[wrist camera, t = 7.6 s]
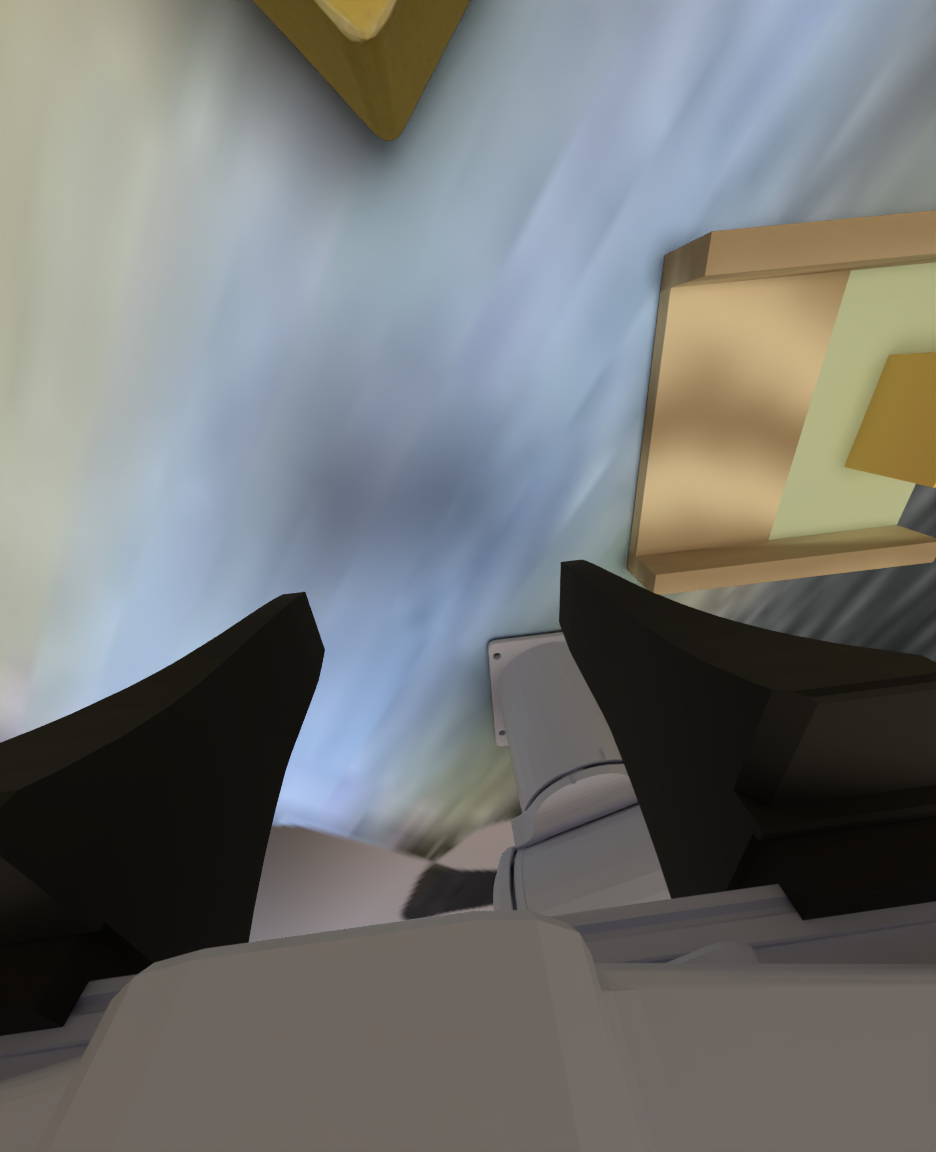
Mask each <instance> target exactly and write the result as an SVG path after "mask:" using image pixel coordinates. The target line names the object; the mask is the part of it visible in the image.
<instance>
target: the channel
mask: <svg viewBox="0 0 936 1152" xmlns="http://www.w3.org/2000/svg"><path fill="white" fill-rule="evenodd" d="M933 262H936V210H934V211H924V212H913V213H902V214H892V215H881V216H870V217H860V218H849V219H839V220H828V221H817V222H807V223H796V224H786V225H775V226H764V227H754V228H743V229H732V230H722V231H712V232H710V233H708V234H706V235H704V236H702V237H700V238H698V239H696V240H694V241H692V242H690V243H688V244H686V245H684V246H682V247H680V248H678V249H676V250H674V251H672V252H670V253H668V254H666V255H665V259H664V267H663V275H662V283H661V292H660V300H659V308H658V317H657V325H656V333H655V341H654V350H653V358H652V366H651V375H650V383H649V391H648V399H647V408H646V416H645V424H644V432H643V441H642V449H641V457H640V466H639V474H638V482H637V490H636V499H635V507H634V515H633V524H632V532H631V540H630V548H629V557H628V565H627V570H628V571H629V572H630V573H631V574H632V575H633V576H634V577H635V578H636V579H637V580H638V581H639V582H640V583H641V584H642V585H643V586H644V587H645V588H646V589H647V590H649V591H651V592H653V593H656V594H658V595H661V594H669V593H677V592H686V591H694V590H703V589H711V588H719V587H728V586H736V585H744V584H753V583H761V582H770V581H778V580H786V579H795V578H803V577H811V576H820V575H828V574H837V573H845V572H853V571H862V570H870V569H878V568H887V567H895V566H904V565H912V564H920V563H929V562H933V561H934V559H935V557H936V538H934V537H931V536H928V535H925V534H922V533H919V532H916V531H913V530H910V529H907V528H904V527H901V526H897V525H893V526H885V527H876V528H868V529H859V530H850V531H842V532H833V533H825V534H816V535H807V536H799V537H790V538H782V539H773V540H769V537H770V534H771V530H772V527H773V524H774V521H775V517H776V514H777V511H778V507H779V504H780V501H781V498H782V494H783V491H784V488H785V485H786V481H787V478H788V475H789V471H790V468H791V465H792V462H793V458H794V455H795V452H796V449H797V445H798V442H799V439H800V436H801V432H802V429H803V426H804V422H805V419H806V416H807V413H808V409H809V406H810V403H811V400H812V396H813V393H814V390H815V387H816V383H817V380H818V377H819V373H820V370H821V367H822V364H823V360H824V357H825V354H826V351H827V347H828V344H829V341H830V337H831V334H832V331H833V328H834V324H835V321H836V318H837V315H838V311H839V308H840V305H841V302H842V298H843V295H844V292H845V288H846V285H847V282H848V279H849V275H850V272H851V270H861V269H871V268H882V267H892V266H902V265H912V264H923V263H933Z"/></svg>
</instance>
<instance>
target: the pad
mask: <svg viewBox="0 0 936 1152" xmlns="http://www.w3.org/2000/svg"><path fill="white" fill-rule="evenodd" d="M926 352H936V262H933V263H923V264H912V265H902V266H892V267H882V268H871V269H861V270H851V272H850V275H849V279H848V282H847V285H846V288H845V292H844V295H843V298H842V302H841V305H840V308H839V311H838V315H837V318H836V321H835V324H834V328H833V331H832V334H831V337H830V341H829V344H828V347H827V351H826V354H825V357H824V360H823V364H822V367H821V370H820V373H819V377H818V380H817V383H816V387H815V390H814V393H813V396H812V400H811V403H810V406H809V409H808V413H807V416H806V419H805V422H804V426H803V429H802V432H801V436H800V439H799V442H798V445H797V449H796V452H795V455H794V458H793V462H792V465H791V468H790V471H789V475H788V478H787V481H786V485H785V488H784V491H783V494H782V498H781V501H780V504H779V507H778V511H777V514H776V517H775V521H774V524H773V527H772V530H771V534H770V537H769V540H773V539H782V538H790V537H799V536H807V535H816V534H825V533H833V532H842V531H850V530H859V529H868V528H876V527H885V526H893V525H897V523H898V521H899V519H900V516H901V514H902V512H903V510H904V508H905V506H906V504H907V501H908V499H909V497H910V495H911V493H912V491H913V489H914V487H915V483H911V482H907V481H902V480H898V479H894V478H889V477H885V476H881V475H876V474H872V473H868V472H864V471H859V470H855V469H851V468H846V467H844V466H845V464H846V461H847V459H848V456H849V454H850V451H851V449H852V446H853V444H854V441H855V439H856V436H857V434H858V431H859V429H860V426H861V424H862V421H863V419H864V416H865V414H866V411H867V409H868V406H869V404H870V401H871V399H872V396H873V394H874V391H875V389H876V386H877V384H878V381H879V379H880V376H881V374H882V371H883V369H884V366H885V364H886V361H887V359H888V356H889V355H896V354H911V353H926Z"/></svg>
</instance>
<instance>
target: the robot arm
mask: <svg viewBox="0 0 936 1152" xmlns="http://www.w3.org/2000/svg"><path fill="white" fill-rule="evenodd" d="M559 623H560V625H561V628H562V631H563V632H558V633H550V634H541V635H533V636H525V637H517V638H508V639H500V640H494V641H491V642H490V643H489V645H488V655H489V667H490V680H491V692H492V704H493V716H494V728H495V740H496V744H497V745H498V746H509V750H510V755H511V760H512V765H513V770H514V775H515V780H516V785H517V790H518V795H519V800H520V805H521V810H522V814H521V815H520V816H518V817H516V818H514V819H512V820H511V824H512V829H513V835H514V842H515V846H513V847H510V848H507V849H506V850H505V851H504V852H503V853H502V856H501V858H500V861H499V865H498V870H497V875H496V878H495V884H494V911H470V912H464V913H456V914H449V915H442V916H435V917H427V918H420V919H413V920H406V921H399V922H392V923H385V924H377V925H370V926H364V927H356V928H349V929H342V930H335V931H327V932H320V933H313V934H306V935H300V936H292V937H285V938H278V939H270V940H263V941H256V942H249V936H250V930H251V924H252V918H253V912H254V907H255V902H256V897H257V892H258V887H259V881H260V877H261V872H262V867H263V862H264V856H265V852H266V848H267V844H268V839H269V835H270V830H271V826H272V822H273V818H274V813H275V809H276V805H277V802H278V798H279V794H280V790H281V786H282V782H283V779H284V775H285V771H286V768H287V765H288V762H289V759H290V756H291V753H292V750H293V748H294V745H295V742H296V740H297V737H298V735H299V732H300V729H301V727H302V724H303V721H304V719H305V716H306V713H307V711H308V708H309V706H310V703H311V700H312V697H313V695H314V692H315V689H316V686H317V684H318V681H319V676H320V672H321V667H322V662H323V657H324V652H325V649H324V646H323V643H322V640H321V637H320V634H319V631H318V628H317V625H316V622H315V619H314V616H313V614H312V611H311V608H310V605H309V602H308V599H307V596H306V593H305V592H300V593H291V594H283V595H281V596H279V597H277V598H275V599H273V600H272V601H270V602H268V603H267V604H265V605H264V606H262V607H261V608H259V609H257V610H256V611H254V612H253V613H251V614H250V615H248V616H247V617H245V618H244V619H242V620H241V621H239V622H238V623H236V624H235V625H233V626H232V627H230V628H229V629H227V630H226V631H224V632H223V633H221V634H220V635H218V636H217V637H215V638H214V639H212V640H210V641H209V642H207V643H205V644H204V645H202V646H201V647H199V648H197V649H196V650H194V651H193V652H191V653H189V654H188V655H186V656H185V657H183V658H181V659H180V660H178V661H176V662H174V663H173V664H171V665H169V666H167V667H166V668H164V669H162V670H160V671H158V672H157V673H155V674H153V675H151V676H149V677H147V678H145V679H143V680H141V681H140V682H138V683H136V684H134V685H132V686H130V687H128V688H126V689H124V690H122V691H120V692H117V693H115V694H113V695H111V696H109V697H107V698H104V699H102V700H100V701H98V702H96V703H94V704H92V705H89V706H87V707H85V708H83V709H81V710H79V711H77V712H74V713H72V714H70V715H68V716H65V717H63V718H61V719H58V720H56V721H53V722H51V723H49V724H46V725H44V726H41V727H39V728H37V729H34V730H32V731H29V732H27V733H24V734H22V735H19V736H16V737H14V738H11V739H9V740H6V741H4V742H1V743H0V1152H936V662H934V661H932V660H930V659H928V658H926V657H924V656H921V655H915V654H908V653H901V652H894V651H886V650H879V649H872V648H865V647H858V646H850V645H843V644H837V643H831V642H826V641H821V640H815V639H810V638H805V637H799V636H794V635H790V634H785V633H780V632H776V631H771V630H767V629H763V628H759V627H755V626H751V625H748V624H744V623H740V622H736V621H732V620H729V619H725V618H722V617H719V616H715V615H712V614H709V613H706V612H703V611H700V610H697V609H694V608H691V607H688V606H686V605H683V604H680V603H678V602H675V601H673V600H670V599H668V598H665V597H663V596H660V595H658V594H656V593H653V592H651V591H649V590H647V589H644V588H642V587H640V586H638V585H636V584H634V583H631V582H629V581H627V580H625V579H623V578H621V577H619V576H617V575H615V574H613V573H611V572H609V571H607V570H605V569H603V568H601V567H599V566H597V565H594V564H592V563H590V562H588V561H585V560H575V561H566V562H561V577H560V613H559ZM495 653H500V654H499V655H494V654H495ZM501 730H503V731H501ZM248 942H249V943H248Z"/></svg>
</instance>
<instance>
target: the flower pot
mask: <svg viewBox="0 0 936 1152" xmlns="http://www.w3.org/2000/svg"><path fill="white" fill-rule="evenodd" d="M253 1H254V2H255V3H256V4H257V6H258V7H259V8H260V9H261V10H262V11H263V12H264V13H265V14H266V15H267V16H268V17H269V18H270V19H271V21H272V22H273V23H274V24H275V25H276V26H277V27H278V28H279V29H280V30H281V31H282V32H283V33H284V34H285V36H286V37H287V38H288V39H289V40H290V41H291V42H292V43H293V44H294V45H295V46H296V47H297V49H298V50H299V51H300V52H301V53H302V54H303V55H304V56H305V57H306V58H307V60H308V61H309V62H310V63H311V64H312V65H313V66H314V67H315V68H316V69H317V71H318V72H319V73H320V74H321V75H322V76H323V77H324V78H325V79H326V80H327V82H328V83H329V84H330V85H331V86H332V87H333V88H334V89H335V90H336V92H337V93H338V94H339V95H340V96H341V97H342V98H343V99H344V100H345V102H346V103H347V104H348V105H349V106H350V107H351V108H352V109H353V110H354V112H355V113H356V114H357V115H358V116H359V117H360V118H361V119H362V120H363V121H364V123H365V124H366V125H367V126H368V127H369V128H370V129H371V130H372V131H373V132H374V133H375V134H376V135H377V136H378V137H380V138H381V139H383V140H385V141H391V140H394V139H396V138H397V137H398V136H399V135H400V134H401V133H402V131H403V130H404V128H405V126H406V124H407V122H408V121H409V119H410V117H411V115H412V113H413V111H414V109H415V107H416V105H417V103H418V101H419V99H420V97H421V95H422V93H423V91H424V89H425V87H426V85H427V83H428V81H429V79H430V77H431V75H432V74H433V72H434V70H435V68H436V66H437V64H438V62H439V60H440V58H441V56H442V54H443V52H444V50H445V48H446V46H447V44H448V42H449V40H450V39H451V37H452V35H453V33H454V31H455V29H456V27H457V25H458V23H459V21H460V19H461V17H462V16H463V14H464V12H465V10H466V8H467V6H468V4H469V2H470V0H253Z"/></svg>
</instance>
